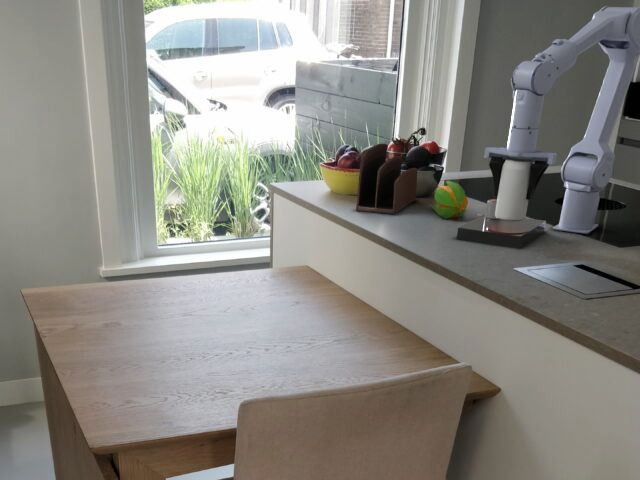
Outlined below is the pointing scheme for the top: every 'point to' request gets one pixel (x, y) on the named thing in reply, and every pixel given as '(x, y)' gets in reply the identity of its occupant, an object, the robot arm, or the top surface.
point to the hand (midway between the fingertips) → (513, 197)
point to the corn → (450, 200)
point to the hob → (481, 234)
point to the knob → (491, 209)
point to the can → (513, 190)
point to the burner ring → (508, 228)
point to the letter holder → (384, 182)
